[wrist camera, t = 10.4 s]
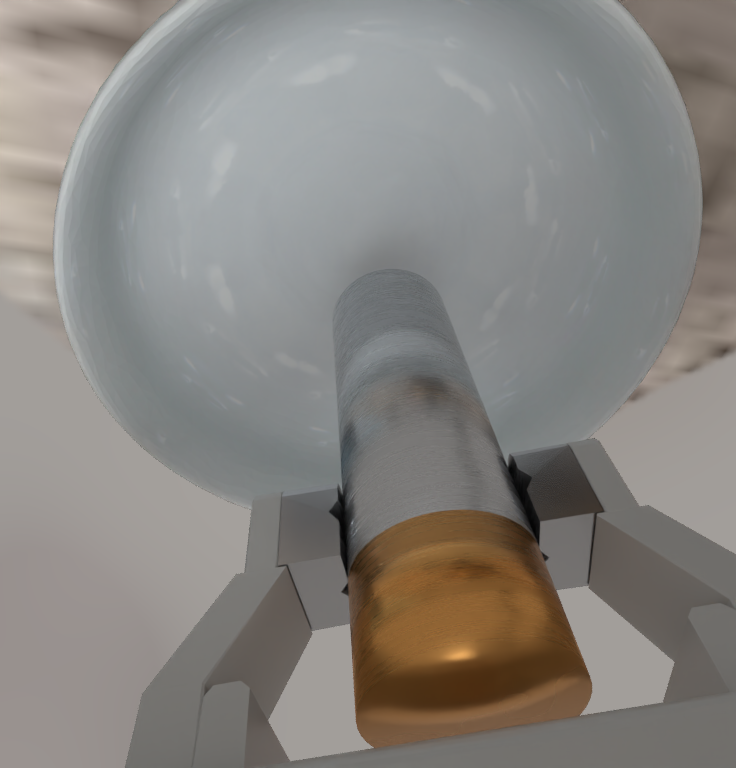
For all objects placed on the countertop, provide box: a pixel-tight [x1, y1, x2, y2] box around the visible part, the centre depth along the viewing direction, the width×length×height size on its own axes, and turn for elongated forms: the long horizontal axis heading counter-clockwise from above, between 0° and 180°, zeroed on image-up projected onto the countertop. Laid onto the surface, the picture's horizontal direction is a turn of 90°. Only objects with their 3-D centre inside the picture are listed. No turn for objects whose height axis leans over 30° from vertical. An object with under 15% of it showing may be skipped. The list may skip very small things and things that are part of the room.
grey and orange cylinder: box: [332, 269, 592, 748], centre depth 11 cm, size 3×3×10 cm
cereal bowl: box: [53, 0, 703, 510], centre depth 18 cm, size 17×17×7 cm
